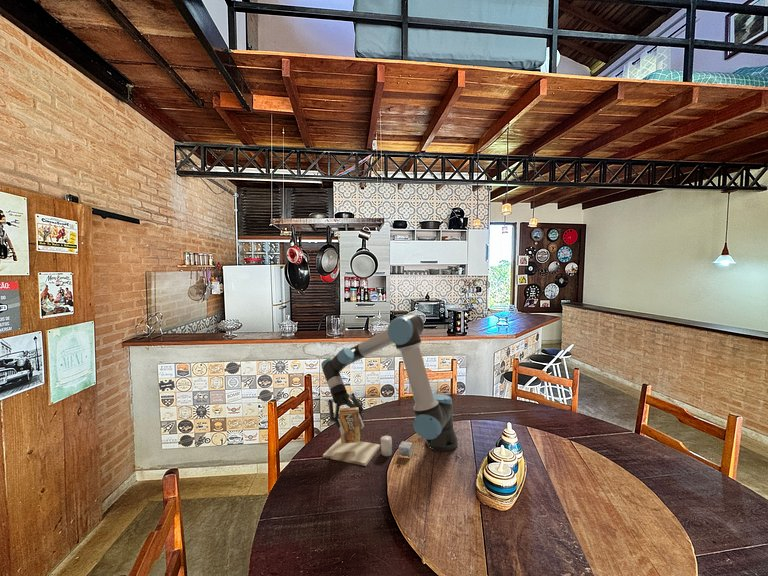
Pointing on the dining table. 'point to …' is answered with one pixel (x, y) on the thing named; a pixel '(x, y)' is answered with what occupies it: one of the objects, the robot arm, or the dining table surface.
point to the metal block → (405, 448)
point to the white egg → (386, 445)
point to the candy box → (350, 425)
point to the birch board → (352, 452)
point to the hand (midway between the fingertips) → (353, 430)
